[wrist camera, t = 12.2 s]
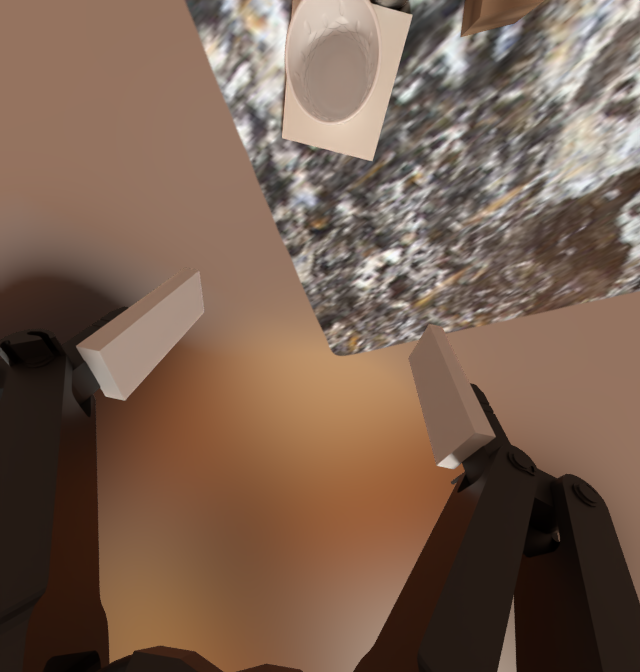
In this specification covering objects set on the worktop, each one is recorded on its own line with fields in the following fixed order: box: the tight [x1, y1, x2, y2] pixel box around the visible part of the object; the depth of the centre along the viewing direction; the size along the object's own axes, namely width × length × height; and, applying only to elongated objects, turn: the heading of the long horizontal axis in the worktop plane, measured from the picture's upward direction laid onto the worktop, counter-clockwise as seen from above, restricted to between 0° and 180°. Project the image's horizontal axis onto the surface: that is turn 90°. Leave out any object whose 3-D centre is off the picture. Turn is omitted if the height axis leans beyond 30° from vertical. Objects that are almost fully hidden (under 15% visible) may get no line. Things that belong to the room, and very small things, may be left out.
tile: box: [282, 0, 412, 161], centre depth 28 cm, size 12×12×1 cm
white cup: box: [285, 0, 382, 126], centre depth 24 cm, size 8×8×10 cm
